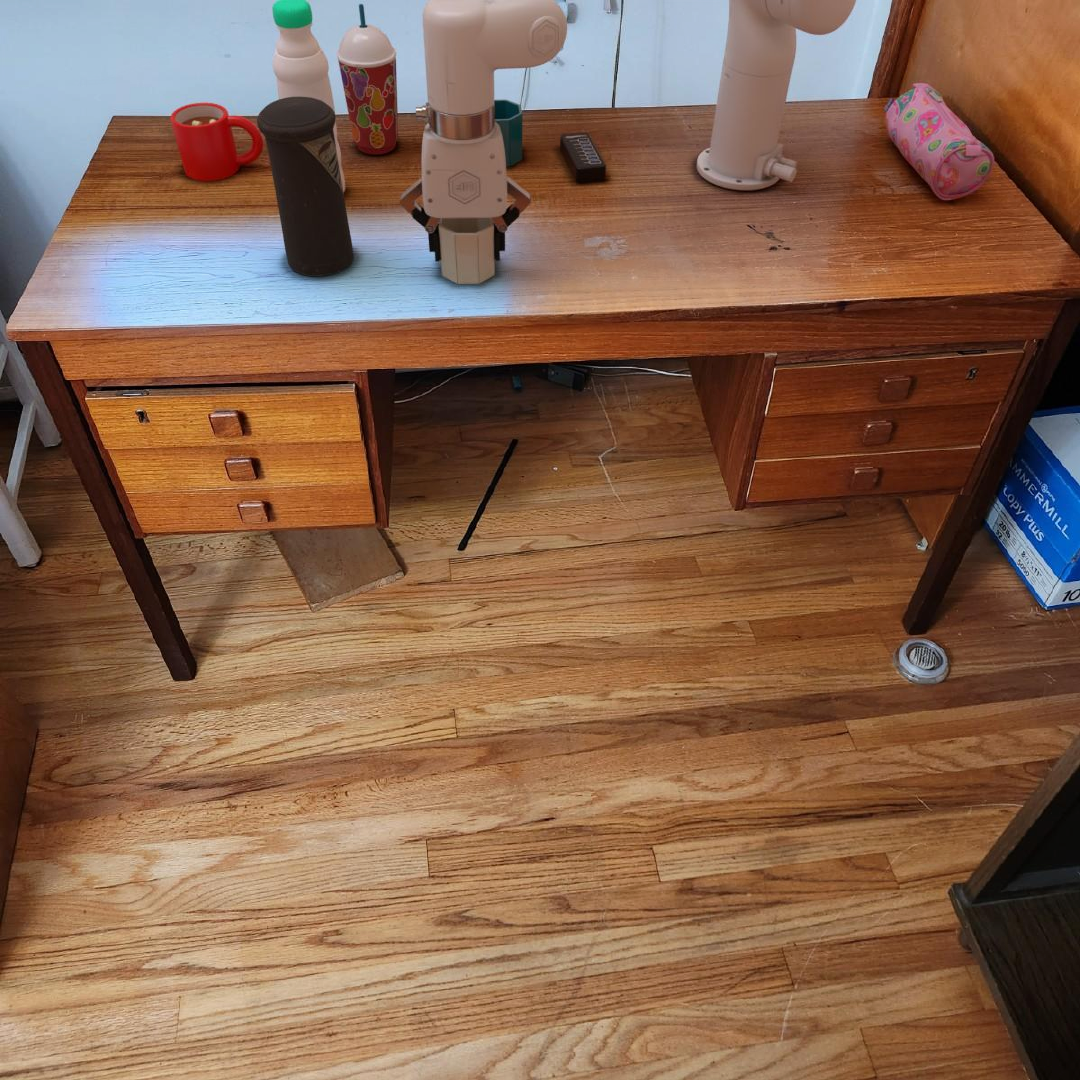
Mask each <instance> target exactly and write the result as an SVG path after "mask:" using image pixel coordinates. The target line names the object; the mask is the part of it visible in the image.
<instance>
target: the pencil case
mask: <svg viewBox="0 0 1080 1080" xmlns="http://www.w3.org/2000/svg"><path fill="white" fill-rule="evenodd" d="M912 87H915V88H912V89H910V90H908V91H907V92H905V93H903V94H902V95H900V96H899V97H897V98H896V99H895V98H894V97H890V99H889V100H888V102H887V103H886V105H885V106H884V107H883V109H884V111H885V115H884V127H885V130H886V133H887V136H888V137H889V138H890V140H891V141H892V143H893V144H894V145H895V147H896V148H897V149H898V151H899V153H900V154H901V155H902V157H903V158H904V159H905V160H906V161H907V163H908V164H909V165H910V166H911V167H912V168H913V169H914V170H915V171H916V172H917V174H918V175H919V176H920V178H922V179H923V180H924V182H926V183H927V184H928V186H929V187H930V189H931V190H932V192H933V194H934V195H935V196H936V197H937V198H938V199H940V200H942V201H952V200H956V199H961V198H965V197H966V196H969V195H971V194H973V193H974V192H975V191H978V189H980V188H981V187H982V186H983V185H984V184H985V183H986V181H988V179H989V177H990V176H991V174H992V172H993V170H994V166H995V155H994V153H993V152H992V150H991V149H990V148H989V147H988V146H987V145H985V143H983V142H982V141H980V140H978V139H977V138H976V137H975V136H974V135H973V134H972V132H971V130H970V127H968V126H967V125H966V124H965V122H964V121H963V120H962V119H961V118H960V117H958V116H957V115H956V114H955V113H954V112H953V111H952V110H951V109H950V108H949V107H948V106H947V105H946V103H945V101H944V99H943V96H942V95H941V94H940V92H939V91H938V90H936V89H935V88H934V87H933V86H931V85H930V84H929V83H925V82H919V83H918V82H916V83H913V84H912Z"/></svg>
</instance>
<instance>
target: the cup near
mask: <svg viewBox="0 0 1080 1080" xmlns="http://www.w3.org/2000/svg"><path fill="white" fill-rule="evenodd" d="M439 238H440V254H441V260H440V266H441V267H440V268H441V276H442V277H443V278H445V279H447V280H449V281H451V282H453V283H455V284H458V285H480V284H481V283H483V282H485V281H487V280H489V279H490V278H492V277H494V276H495V274H496V273H495V272H496V269H495V268H496V267H495V263H496V262H495V260H494V222H493V220H492V218H441V219H440V221H439Z"/></svg>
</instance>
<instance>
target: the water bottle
mask: <svg viewBox="0 0 1080 1080" xmlns="http://www.w3.org/2000/svg"><path fill="white" fill-rule="evenodd" d="M312 11H313V10H312V7H311V5H310V3H309V2H308V1H307V0H277V1H275V2H274V3H273V5H272V17H273V21H274V24H275V27H276V29H278V30H279V31H278V32H279V37H278V39H277V41H276V46H275V47H276V48H275V51H274V54H273V57H272V69H273V73H274V75H275V78H276V87H277V95H278V100H279V99H283V98H288V97H310V98H315V99H318V100H321V101H323V102H325V103H326V104H327V105H329V106H330V107H331V108H332V109H333V111H334V113H335V114H336V109H335V103H334V97H333V91H332V90H333V89H332V85H331V80H330V76H329V69H330V66H329V61H328V57H327V56H326V54H325V52H324V50H323V49H322V47H321V46H320V44H319V42H318V40H317V38H316V37H315V36H314V35H313V33H312V30H311V28H312V26H313V12H312ZM337 127H338V125H337V120H336V121H335V124H334V127H333V131H334V138H335V144H336V151H337V157H338V163H339V169H340V175H341V181H342V187H343V193H345V191H346V181H345V175H344V170H343V167H342V166H343V165H342V152H341V147H340V144H339V140H338V128H337Z"/></svg>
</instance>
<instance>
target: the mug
mask: <svg viewBox="0 0 1080 1080" xmlns="http://www.w3.org/2000/svg"><path fill="white" fill-rule="evenodd" d="M170 122H171V126H172V130H173V134H174V137H175V140H176V145H177V148H178V149H177V150H178V151H179V156H180V160H181V163H182V167H183V171H184V174H185V175H186V176H187V177H189V178H190V179H192V180H194V181H195V180H196V181H200V182H213V181H214V182H215V181H220V180H223V179H226V178H229V177H231V176H233V175H235V174H236V173H237V172H238V170H239V169H240V166H246V165H250V164H252V163H254V162H255V161H256V160H258V158H259V157H260V156H261V154H262V152H263V149H264V139H263V137H262V134H261V131H260V130H259V128H258V126H257V125H256V124H255V123H253V122H252V121H250V120H249V119H248V118H246V117H244V116H240V115H229V112H228V110H227V108H226V107H225V106H222V105H221V104H219V103H213V102H194V103H190V104H185V105H182V106H180V107H178V108H177V109H175V110H173V112H172V113H171V115H170ZM232 127H235V128H240V129H243V130H245V131H246V132H247V133H248V134H249V136H250V137H251V142H252V145H251V148H250V150H249V151H248V152H246V153H243V154H238V151H237V148H236V142H235V139H234V133H233V129H232Z"/></svg>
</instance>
